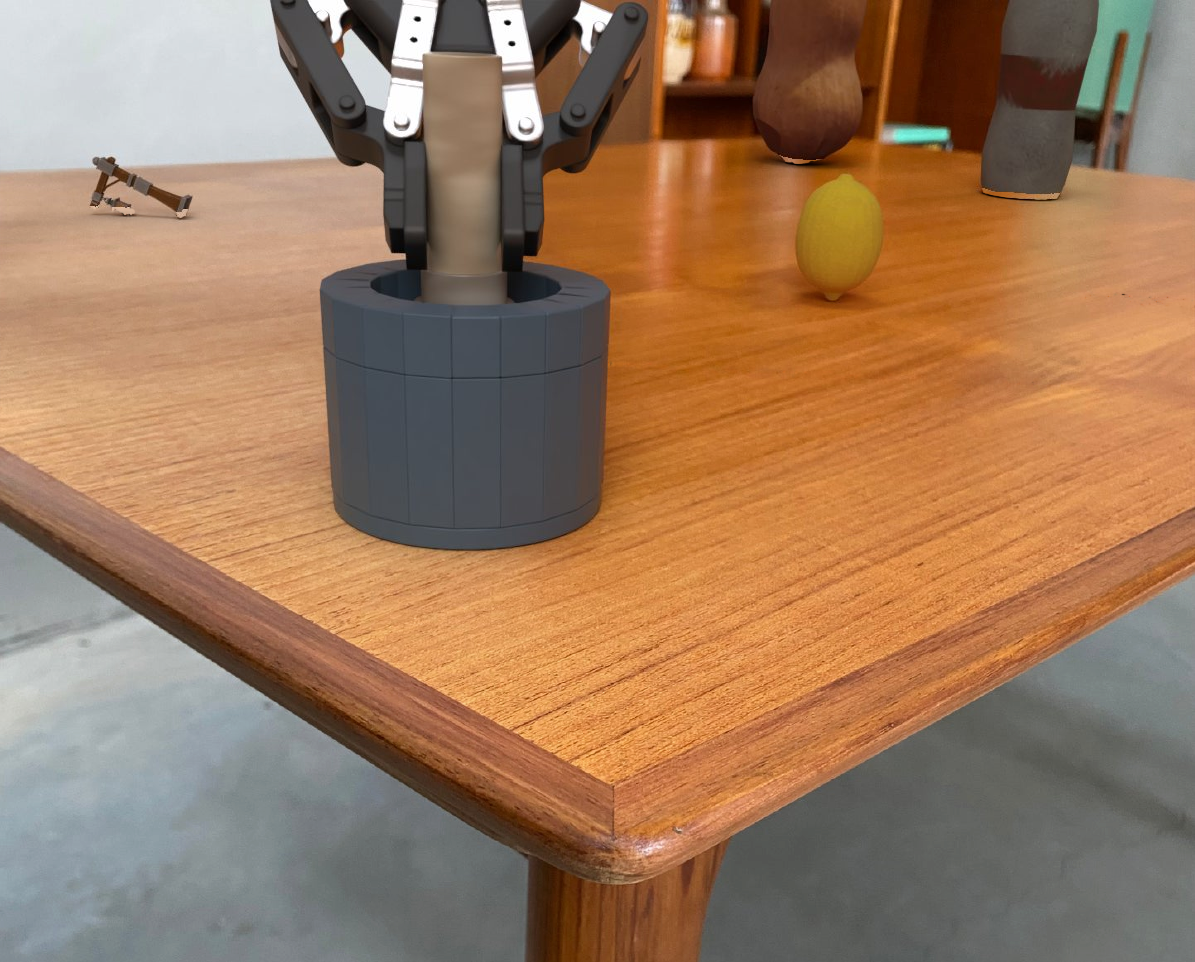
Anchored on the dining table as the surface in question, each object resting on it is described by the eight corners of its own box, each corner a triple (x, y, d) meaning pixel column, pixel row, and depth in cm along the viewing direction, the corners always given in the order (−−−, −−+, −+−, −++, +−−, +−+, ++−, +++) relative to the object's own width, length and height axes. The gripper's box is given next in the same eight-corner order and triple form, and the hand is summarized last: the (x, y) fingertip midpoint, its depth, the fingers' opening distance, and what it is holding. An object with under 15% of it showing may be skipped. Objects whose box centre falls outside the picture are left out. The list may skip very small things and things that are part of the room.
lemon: (866, 293, 84) (882, 169, 81) (880, 311, 79) (898, 180, 76) (785, 290, 84) (797, 166, 81) (793, 308, 79) (807, 176, 76)
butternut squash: (877, 167, 155) (905, -58, 144) (795, 171, 149) (818, -65, 138) (804, 155, 166) (826, -56, 155) (724, 158, 159) (741, -63, 148)
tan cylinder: (403, 421, 44) (392, 52, 39) (431, 393, 47) (424, 50, 42) (502, 429, 44) (504, 58, 38) (523, 401, 47) (528, 54, 42)
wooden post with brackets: (84, 200, 103) (99, 148, 101) (177, 244, 104) (193, 193, 103) (75, 203, 101) (91, 150, 100) (170, 247, 103) (187, 196, 101)
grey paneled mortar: (291, 535, 43) (274, 303, 40) (382, 446, 52) (374, 250, 49) (576, 562, 42) (583, 325, 38) (618, 466, 51) (627, 267, 47)
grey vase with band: (973, 196, 133) (1025, -127, 120) (977, 187, 141) (1026, -118, 128) (1065, 204, 130) (1128, -126, 117) (1064, 193, 138) (1123, -117, 125)
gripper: (254, -243, 42) (228, 178, 37) (658, -218, 44) (693, 191, 38) (284, -61, 49) (266, 316, 44) (631, -45, 51) (657, 322, 45)
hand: (465, 255), depth 41 cm, fingers closed on tan cylinder, 2 cm apart
